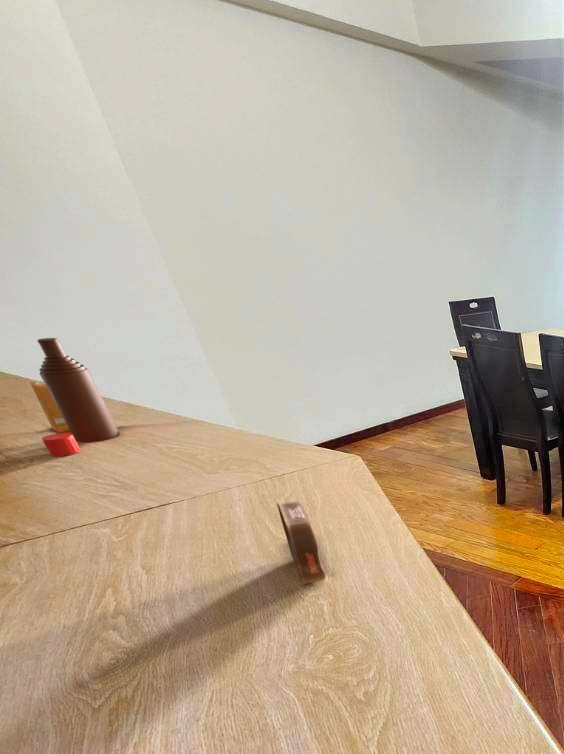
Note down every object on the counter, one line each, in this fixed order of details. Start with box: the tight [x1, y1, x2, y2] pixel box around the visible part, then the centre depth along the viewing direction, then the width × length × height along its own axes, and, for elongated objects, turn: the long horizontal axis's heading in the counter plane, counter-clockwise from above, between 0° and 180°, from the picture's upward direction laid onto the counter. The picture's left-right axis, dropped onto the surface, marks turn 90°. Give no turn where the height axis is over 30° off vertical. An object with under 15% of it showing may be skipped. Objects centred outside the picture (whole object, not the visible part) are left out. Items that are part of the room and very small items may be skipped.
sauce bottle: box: [37, 337, 121, 443], centre depth 113 cm, size 6×6×19 cm
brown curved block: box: [276, 500, 327, 586], centre depth 77 cm, size 15×3×8 cm, turn 40°
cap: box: [41, 433, 82, 457], centre depth 109 cm, size 4×4×3 cm
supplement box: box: [30, 381, 72, 434], centre depth 116 cm, size 3×3×10 cm
